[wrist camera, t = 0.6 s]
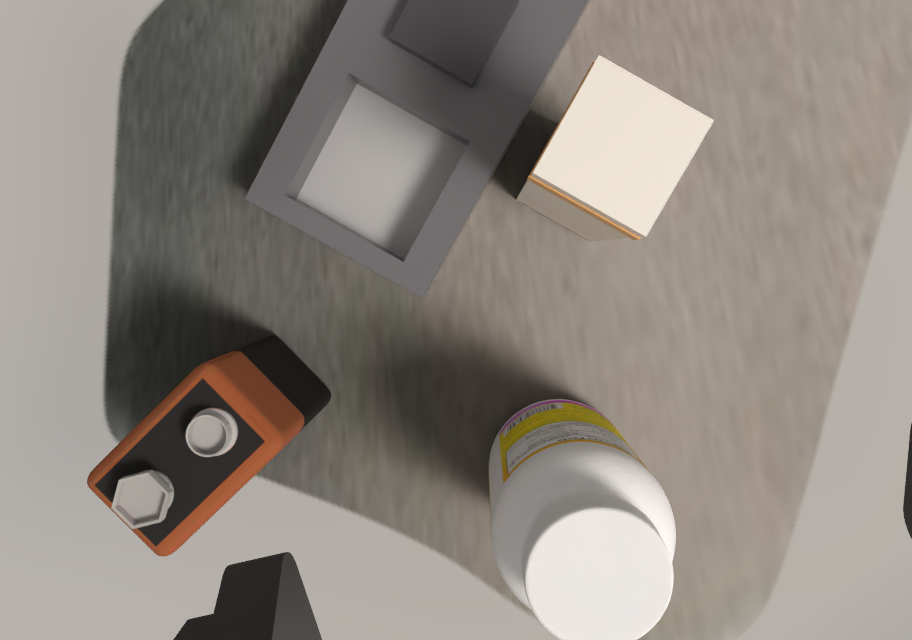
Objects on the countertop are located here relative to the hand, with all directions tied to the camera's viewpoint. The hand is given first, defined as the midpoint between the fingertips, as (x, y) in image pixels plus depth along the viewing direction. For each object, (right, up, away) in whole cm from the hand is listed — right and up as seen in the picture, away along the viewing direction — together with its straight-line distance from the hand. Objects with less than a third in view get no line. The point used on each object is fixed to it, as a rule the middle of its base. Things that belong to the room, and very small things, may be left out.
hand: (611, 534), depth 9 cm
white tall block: (+4, +9, +25) cm, 27 cm away
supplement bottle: (+3, -4, +26) cm, 27 cm away
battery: (-12, -2, +27) cm, 29 cm away
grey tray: (-3, +13, +25) cm, 28 cm away
